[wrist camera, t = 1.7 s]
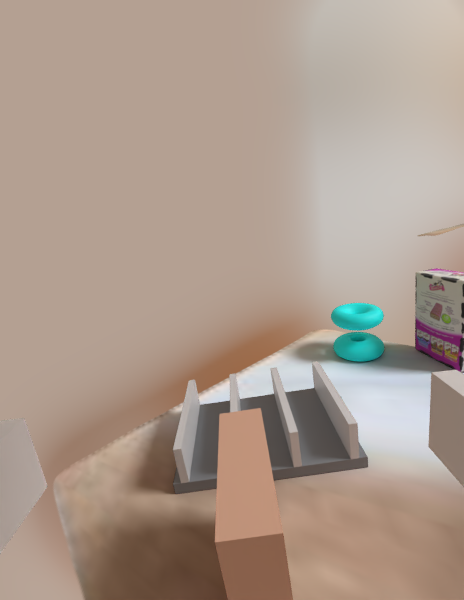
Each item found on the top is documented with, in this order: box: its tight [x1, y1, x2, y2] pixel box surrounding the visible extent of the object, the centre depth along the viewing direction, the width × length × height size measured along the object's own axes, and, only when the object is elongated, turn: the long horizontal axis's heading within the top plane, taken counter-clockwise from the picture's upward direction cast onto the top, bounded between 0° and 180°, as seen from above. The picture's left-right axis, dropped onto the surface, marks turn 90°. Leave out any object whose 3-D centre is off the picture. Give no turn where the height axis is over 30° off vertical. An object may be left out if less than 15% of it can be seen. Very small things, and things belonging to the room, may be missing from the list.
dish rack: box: [173, 361, 368, 494], centre depth 44 cm, size 24×16×6 cm, turn 91°
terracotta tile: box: [215, 408, 293, 600], centre depth 25 cm, size 4×12×14 cm, turn 1°
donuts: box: [331, 303, 384, 362], centre depth 64 cm, size 10×10×10 cm
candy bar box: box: [415, 269, 464, 372], centre depth 56 cm, size 11×5×16 cm, turn 9°
